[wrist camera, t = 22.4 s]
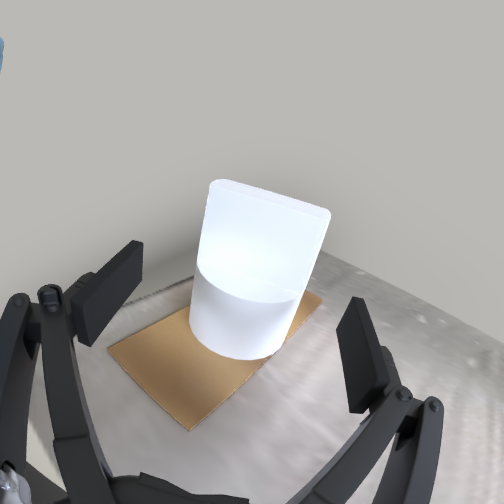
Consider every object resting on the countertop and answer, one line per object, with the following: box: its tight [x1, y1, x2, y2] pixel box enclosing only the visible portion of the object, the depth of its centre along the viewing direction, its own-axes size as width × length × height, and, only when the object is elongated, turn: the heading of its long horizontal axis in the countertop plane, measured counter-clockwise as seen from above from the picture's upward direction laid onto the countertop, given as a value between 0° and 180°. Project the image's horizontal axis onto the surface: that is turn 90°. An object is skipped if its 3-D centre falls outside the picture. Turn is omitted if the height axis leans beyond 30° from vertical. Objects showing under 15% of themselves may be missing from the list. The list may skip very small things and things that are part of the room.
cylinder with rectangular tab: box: [189, 179, 331, 360], centre depth 23 cm, size 9×9×12 cm
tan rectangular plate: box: [107, 290, 323, 431], centre depth 26 cm, size 22×9×1 cm, turn 145°
